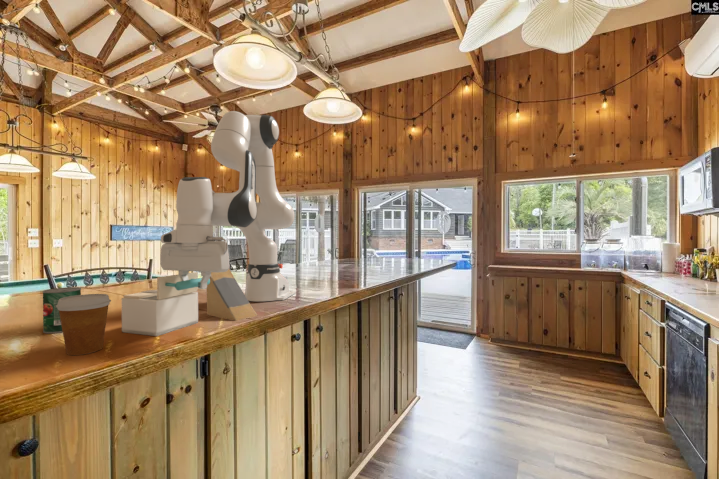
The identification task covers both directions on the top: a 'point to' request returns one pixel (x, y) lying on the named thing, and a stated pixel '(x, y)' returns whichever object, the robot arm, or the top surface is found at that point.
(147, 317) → the white carton
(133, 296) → the back flap
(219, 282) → the sandwich container
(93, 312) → the disposable coffee cup
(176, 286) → the front flap
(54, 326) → the canned tomato
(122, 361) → the top surface
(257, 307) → the top surface
